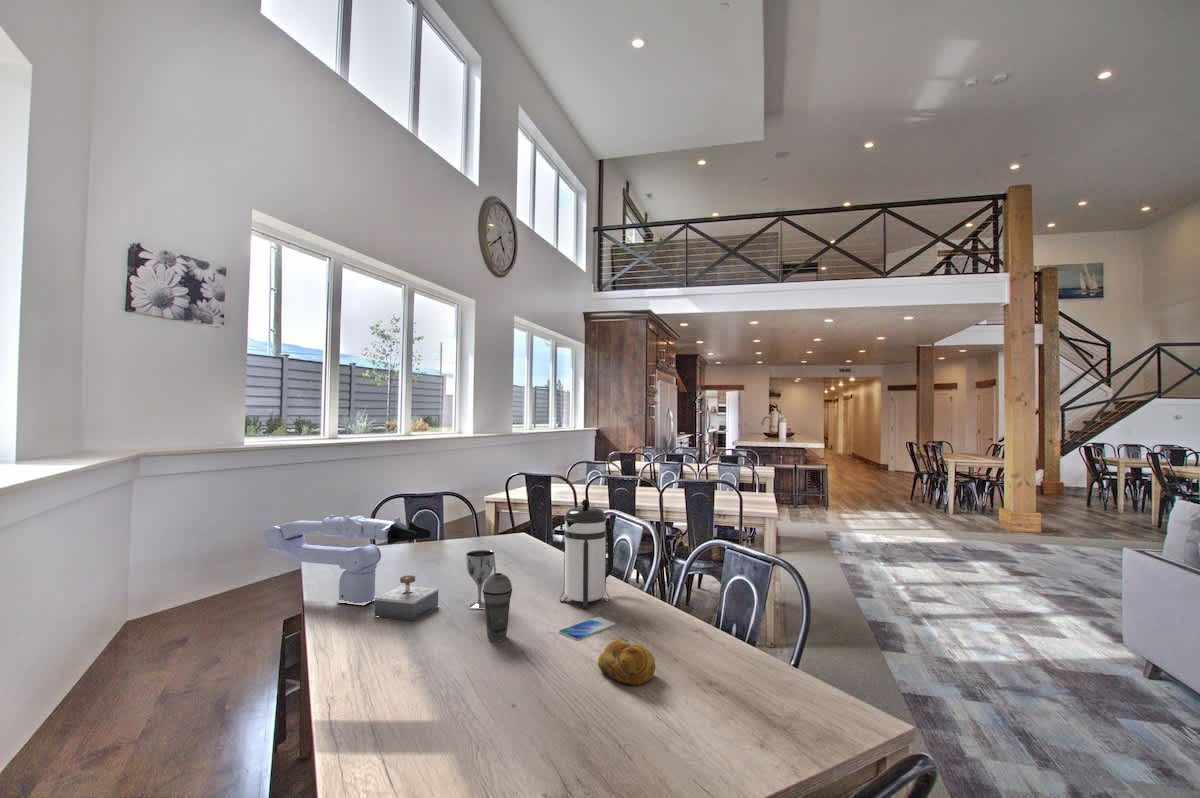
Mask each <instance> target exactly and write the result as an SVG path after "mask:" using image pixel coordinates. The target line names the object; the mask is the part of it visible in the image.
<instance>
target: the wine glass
mask: <svg viewBox="0 0 1200 798" xmlns="http://www.w3.org/2000/svg"><path fill="white" fill-rule="evenodd" d="M465 555H466V556H465V557H466V559H465V561H466V562H465V563H466V564H465V565H466V570H467V573H468V575H469V577H471V579H472V580H473V581H474V583H475V585H476V586H477V593H478V599H477V601H475V603H474V602H471V603H472V604H471V603H469V604H470V607H471V608H485V601H482V592H483V587H484V583H485V581H486V580H487V578H488V577H489V576H491V575H492V574H493V573H492V572H493V571H494V566H493V555H494V556H495V551H493V550H488V549H478V550H471V551H468V552H467V553H466V554H465Z"/></svg>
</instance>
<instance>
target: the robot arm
mask: <svg viewBox="0 0 1200 798" xmlns="http://www.w3.org/2000/svg"><path fill="white" fill-rule="evenodd" d="M431 532H432V531H431V530H430V529H429V528H425V527H423V526H421V525H419V524H418V523H417V522H415V521H409V522H408V525H406V524H405V523H403V522H401V517H395V518H394V519H393V520H385V519H378V518H367V517H366V516H364V515H360V514H357V515H355V516H350V515H349V514H348V515H347V514H346V515H344V516H336V514H331V515H328V516H327V517H325V518H323V520H303V519H300V520H296V521H295V520H293V521H290V522H287V523H282V524H278V525H271V526H268V527H267V528H266V529H265V530H264V533H263V540H264V543H265V545H266V547H267V549H268V551H273V552H277V553H278V554H280V555H281V556H282V557H284V558H286V559H288V560H289V561H291V562H297V563H310V564H311V563H312V564H321V565H322V564H323V565H331V566H332V565H335V566H338V567H339V569H343V570H344V571H343V572H342V573H341V575H340V577H339V581H338V583H339V584H338V586H339V587H338V601H339V600H344V601H349V602H353V603H363V602H368V601H372V600H373V599H375V596H376V568H377V565H378V564H379V562H380V561H381V559H382V553H381V552H382V551H381V549H380V548H379V547H378V545H376V544H373V543H371V544H367V545H366V546H355V547H341V546H340V547H339V546H328V545H318V544H308V543H307V542H308V541H307V539H306V536H305V534H312V533H321V534H322V536H324V537H329V538H330V537H340V538H341V537H345V538H346V539H347V540H350V539H353V538H354V537H357V538H362V539H363V538H364V539H369V540H370V539H371V540H376V541H385V542H387V544H388V545H393V544H396V543H398V542H411V541H416V540H418V539H419V540H420V539H429V538H430V537H431Z"/></svg>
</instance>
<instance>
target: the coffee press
mask: <svg viewBox="0 0 1200 798" xmlns="http://www.w3.org/2000/svg"><path fill="white" fill-rule="evenodd" d="M581 505H582V506H577V507H573V508H570V509H568V510H567V512H566V513H565V515H564V516H563V520H564V527H565V528H564V531H563V533H564V535H563V536H564V540H563V544H564V545H563V550H564V551H563V553H564V554H563V570H564V590H563V592H562V593H561V595H560V596H559V601H560V602H561V600H563V601H564V602H565V601H566V600H567V599H569V600H573V601H575V602H582V609H583V610H588V609H589V602H594V601H598V600H600V599H603V600H604V601H605V602H607V601H606V600H608V602H610V601H611V598H610V595H609V594H608V593H607V578H608V577H609V576H610V575H611V573H612V571H613V569H614V561H615V559H614V556H615V555H614V553H615V552H614V542H615V541H614V532H613V530H612V528H611V527H610V526H607V525H606V522H607V520H608V517H607V515H606V513H605V512H604V511H603V509H601V508H598V507H593V506H589V505H590V501H589V500H588V499H586V498H585V499H582V501H581ZM605 593H606V595H607V597H608V599H606V598H605V597H604V596H605ZM563 595H565V598H564V599H561V598H562V596H563Z"/></svg>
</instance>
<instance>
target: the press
mask: <svg viewBox="0 0 1200 798" xmlns="http://www.w3.org/2000/svg"><path fill="white" fill-rule="evenodd" d="M377 596H378V597H376V598H375V601H374V617H375V616H379V617H378V618H380V617H385V618H384V619H388V618H392V619H391V620H397V619H399V620H398V621H408V622H415V621H417V620H418V619H420V618H422V617H423V616H425V615H426V613H427V614H429V613H430V612H432V611H433V610H435V609H437V608H438V607H439V588H437V587H436V588H434V587H426V586H425V587H424V586H416V585H415V586H413V585H410V594H409V595H406V594H405V584H404V585H403V584H402V585H398V586H397V587H395V588H393V589H391V590H389V591H387V592H384V593H382V594H380V595H377ZM437 606H438V607H437ZM436 607H437V608H436ZM434 608H435V609H434ZM432 609H433V610H432ZM431 610H432V611H431ZM429 611H430V612H429ZM424 614H425V615H424ZM421 616H422V617H421ZM419 617H420V618H419ZM416 619H417V620H416ZM414 620H415V621H414Z"/></svg>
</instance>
